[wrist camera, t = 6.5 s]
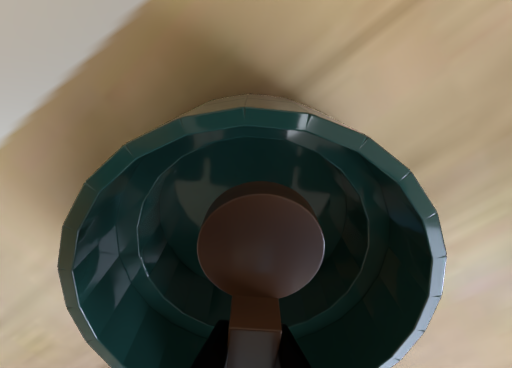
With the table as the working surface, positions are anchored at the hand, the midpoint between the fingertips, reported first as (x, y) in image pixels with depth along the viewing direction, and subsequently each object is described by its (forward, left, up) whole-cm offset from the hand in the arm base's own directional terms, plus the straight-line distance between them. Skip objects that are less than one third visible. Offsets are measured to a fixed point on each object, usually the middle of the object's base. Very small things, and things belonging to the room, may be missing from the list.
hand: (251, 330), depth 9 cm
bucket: (+1, +1, -7) cm, 7 cm away
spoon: (0, 0, -1) cm, 1 cm away
